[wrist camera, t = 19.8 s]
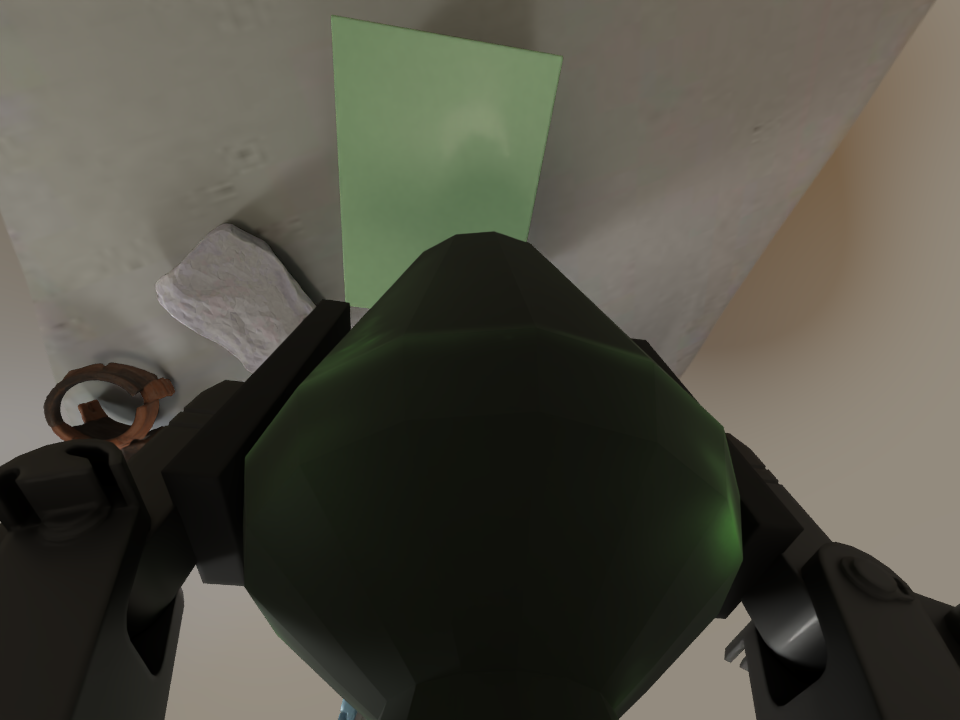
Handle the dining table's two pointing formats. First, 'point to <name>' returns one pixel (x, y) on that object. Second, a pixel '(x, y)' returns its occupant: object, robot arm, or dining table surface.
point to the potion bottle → (490, 502)
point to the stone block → (235, 295)
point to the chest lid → (432, 143)
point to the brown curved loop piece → (94, 415)
